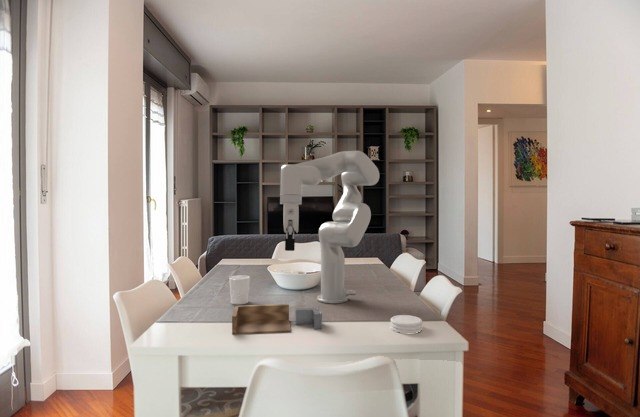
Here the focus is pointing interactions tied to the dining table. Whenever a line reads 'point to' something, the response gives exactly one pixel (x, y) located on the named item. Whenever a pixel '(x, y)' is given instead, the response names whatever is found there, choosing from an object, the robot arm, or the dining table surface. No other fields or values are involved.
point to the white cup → (239, 289)
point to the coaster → (406, 324)
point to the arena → (260, 319)
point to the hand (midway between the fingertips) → (289, 249)
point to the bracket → (309, 317)
